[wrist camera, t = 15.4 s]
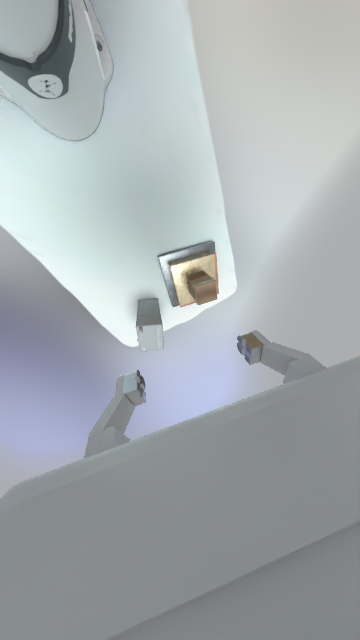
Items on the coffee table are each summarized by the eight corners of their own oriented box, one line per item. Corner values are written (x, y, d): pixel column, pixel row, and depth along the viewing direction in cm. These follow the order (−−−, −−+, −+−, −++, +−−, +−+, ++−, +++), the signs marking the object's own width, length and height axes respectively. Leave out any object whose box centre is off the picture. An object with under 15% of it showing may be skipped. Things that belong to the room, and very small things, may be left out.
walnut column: (185, 275, 41) (194, 286, 34) (203, 270, 41) (216, 279, 35) (188, 292, 44) (198, 305, 37) (205, 287, 44) (217, 299, 38)
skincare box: (159, 318, 53) (167, 350, 40) (138, 320, 52) (139, 354, 39) (158, 296, 49) (166, 324, 36) (135, 298, 47) (135, 328, 34)
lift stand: (157, 256, 42) (160, 260, 37) (211, 240, 43) (221, 243, 38) (171, 304, 51) (175, 313, 46) (215, 290, 52) (223, 298, 48)
